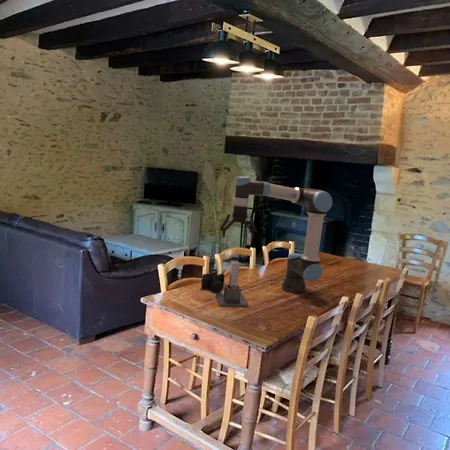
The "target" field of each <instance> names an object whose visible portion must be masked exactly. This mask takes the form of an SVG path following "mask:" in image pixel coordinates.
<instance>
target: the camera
mask: <svg viewBox="0 0 450 450" xmlns="http://www.w3.org/2000/svg"><path fill="white" fill-rule="evenodd" d="M201 277H202V278H201V284H200V288H202V289H201V290H211V291H213V292H216V293H219V292H221V291H222V290H223V289H224V288H225V274H224V273H222V272H221V273H219V274H218V273H217V271H213V272H212V273H209V272H207V273H202V276H201Z"/></svg>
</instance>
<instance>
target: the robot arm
mask: <svg viewBox="0 0 450 450" xmlns="http://www.w3.org/2000/svg"><path fill="white" fill-rule="evenodd" d="M234 192H235V193H234V200H233V201H234V203H233V211H232V213H229V212H228V213H226V216H225V219H224V220H223V222H222V223H221V225H220V227H219V229H220V231H222V237H223V244H227V235H228V231H227V230H228V229H229V228H230V227H232V225H233V224H235V222H236V223H241V224H245V226H246V227H247V228H248V230H249V233H248V241H247V245H248V246H251V244H252V243H251V242H252V240H253V239H254V234H255V233H257V232H258V230H257V228H256V224H255V222H254V219H253V218H254V217H253V216H254V215H252V214H248V210H249V209H248V207H249V206H248V205H249V198H250V196H261V197H264V196H265V197H268V198H269V197H270V198H275V199H281V200H286V201H291V203H293V204H297V205H300V206H302V207H305V208H306V214H307V215H308V216H307V217H308V219H307V226H306V232H305V233H306V234H305V241H304V248H303V253H297V252H295V253H289V254H288V256H287V259H286V260H287V262H286V271H285V277H284V279H283V282H282V283H281V289H282V290H283V291H286V292H288V293H293V294H302V293H305V292H306V290H307V285H306V282H309V283H314V282H317V281H318V280H319V279H320V278H321V277H322V275H323V272H324V269H323V267H322V266H321V259H320V257H319V253H320V245H321V240H322V239H321V238H322V232H323V223H324V218H325V216H327V214H328V211H330V210H331V208H332V207H333V199H332V196H331V194H330V193H329V192H327V191H325V190H320V189H316V188H315V189H314V188H307V187H304V188H303V187H297V186H295V187H289V186H284V185H279V184H274V183H271V182H270V183H269V182H267V181H259V180H254V179H251V177H249V176H242V175H239V176H237V177H236V181H235V190H234ZM231 217H232V219H231V220H230V218H231ZM247 219H248V220H249V222H250V224H251V226H252V227H251V226H250V224H249V223H248V222H247V221H246V220H247ZM229 220H230V221H229ZM228 221H229V222H228ZM305 281H306V282H305Z"/></svg>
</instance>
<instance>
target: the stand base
mask: <svg viewBox="0 0 450 450" xmlns="http://www.w3.org/2000/svg"><path fill="white" fill-rule="evenodd" d="M223 289H224V291H223V293H219V292H216V293H215V298H216V301H217V303H218V306H219V307H228V308H229V307H234V308H235V307H237V308H249V304H250V303H248V301H247V299H246V297H245V295H244V294H243V293H242V288H241V286H240V284H237V289H236V287H232V289H231V288H229V283H228V284H227V283H226V284H225V283H224V288H223Z"/></svg>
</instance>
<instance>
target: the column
mask: <svg viewBox="0 0 450 450" xmlns="http://www.w3.org/2000/svg"><path fill="white" fill-rule="evenodd" d="M240 265H241V264H240V262H239V261H238V260H237V261H236V260H230V268H229V269H230V270H229V280H228V284H229V288H231V289H232V287H236V289H237V285H239V284H238V281H239V270H240Z"/></svg>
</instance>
